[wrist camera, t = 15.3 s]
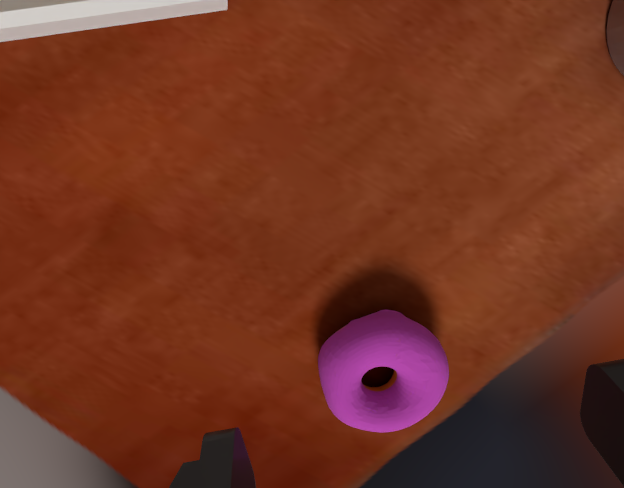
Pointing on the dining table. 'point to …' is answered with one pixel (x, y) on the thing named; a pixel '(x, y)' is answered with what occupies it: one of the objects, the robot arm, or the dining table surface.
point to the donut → (388, 353)
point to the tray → (89, 14)
